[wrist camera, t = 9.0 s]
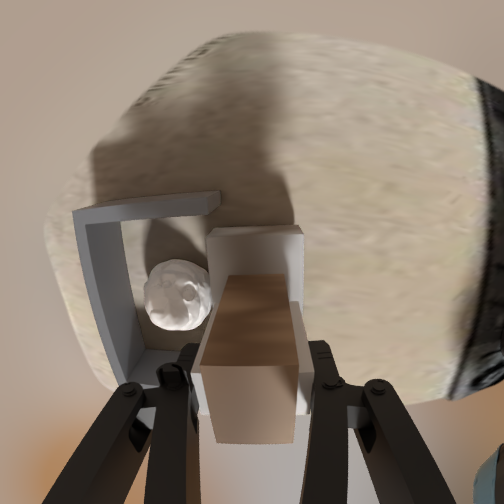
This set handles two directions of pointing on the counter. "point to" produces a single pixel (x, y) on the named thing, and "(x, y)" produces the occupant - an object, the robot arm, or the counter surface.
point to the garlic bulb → (178, 295)
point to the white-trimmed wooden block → (253, 333)
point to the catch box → (126, 276)
